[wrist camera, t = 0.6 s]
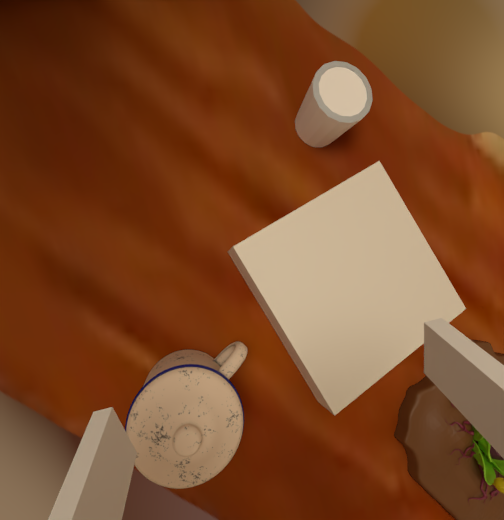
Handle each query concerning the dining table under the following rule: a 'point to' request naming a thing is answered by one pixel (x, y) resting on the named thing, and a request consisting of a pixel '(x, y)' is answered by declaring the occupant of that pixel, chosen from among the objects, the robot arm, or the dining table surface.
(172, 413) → the teacup with lid
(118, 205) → the dining table surface
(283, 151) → the dining table surface
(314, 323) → the plinth
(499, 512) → the plant
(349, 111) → the white cup
